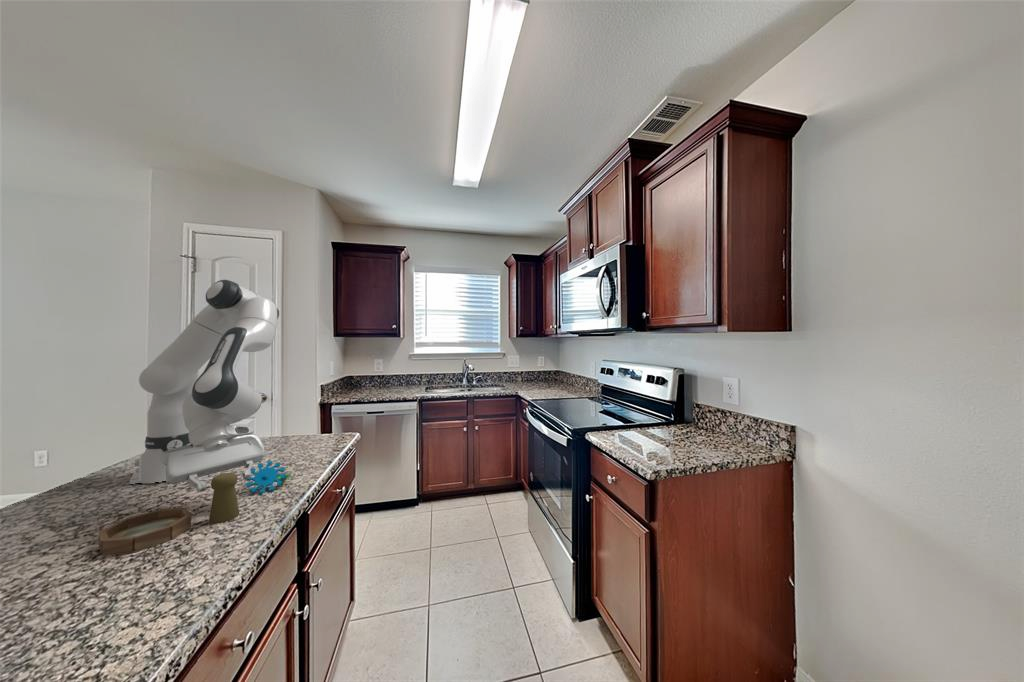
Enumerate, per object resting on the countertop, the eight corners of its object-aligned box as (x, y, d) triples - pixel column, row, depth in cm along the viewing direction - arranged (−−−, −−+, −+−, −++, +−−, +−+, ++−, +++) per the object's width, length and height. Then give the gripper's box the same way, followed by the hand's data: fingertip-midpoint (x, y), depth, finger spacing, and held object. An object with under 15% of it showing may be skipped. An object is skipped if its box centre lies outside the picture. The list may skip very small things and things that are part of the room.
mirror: (97, 539, 77) (97, 526, 77) (182, 514, 88) (182, 503, 88) (103, 562, 69) (103, 547, 69) (195, 531, 80) (195, 519, 80)
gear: (240, 492, 98) (250, 460, 104) (241, 501, 101) (251, 469, 108) (285, 490, 103) (292, 459, 109) (285, 499, 106) (292, 468, 113)
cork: (238, 509, 91) (238, 468, 91) (241, 517, 87) (241, 474, 87) (207, 517, 87) (207, 474, 87) (209, 526, 82) (209, 481, 83)
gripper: (161, 443, 84) (172, 492, 78) (258, 425, 101) (273, 464, 95) (157, 458, 86) (167, 506, 81) (252, 438, 103) (267, 477, 98)
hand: (226, 483), depth 88 cm, fingers open, 8 cm apart
